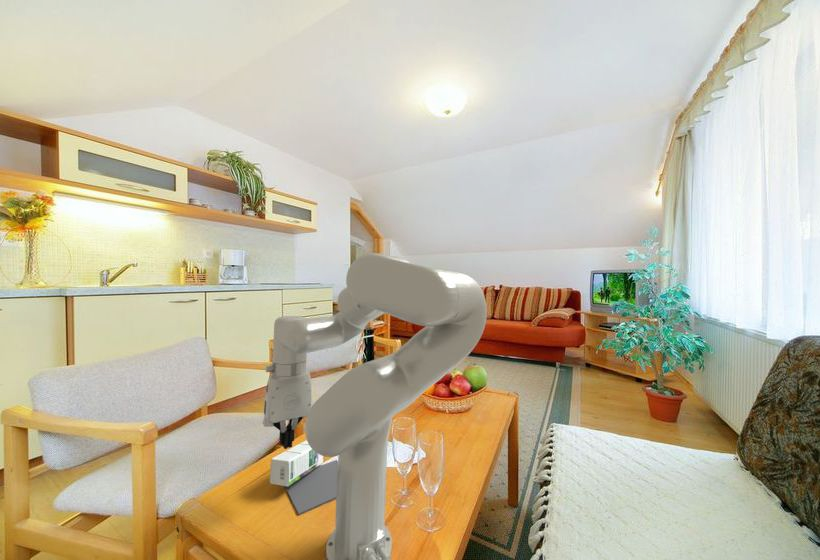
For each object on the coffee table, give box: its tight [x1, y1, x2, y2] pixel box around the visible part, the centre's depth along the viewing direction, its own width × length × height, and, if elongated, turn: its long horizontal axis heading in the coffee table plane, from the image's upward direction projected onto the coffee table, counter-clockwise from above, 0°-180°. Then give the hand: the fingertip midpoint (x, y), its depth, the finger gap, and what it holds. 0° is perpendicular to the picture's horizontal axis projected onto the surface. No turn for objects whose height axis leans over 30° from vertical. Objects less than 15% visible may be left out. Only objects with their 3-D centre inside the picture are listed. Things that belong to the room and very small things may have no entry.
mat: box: [283, 459, 338, 516], centre depth 75 cm, size 14×15×1 cm
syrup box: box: [269, 439, 324, 487], centre depth 78 cm, size 6×6×14 cm
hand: (286, 445), depth 70 cm, fingers closed
